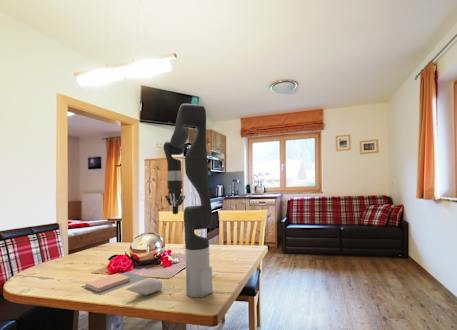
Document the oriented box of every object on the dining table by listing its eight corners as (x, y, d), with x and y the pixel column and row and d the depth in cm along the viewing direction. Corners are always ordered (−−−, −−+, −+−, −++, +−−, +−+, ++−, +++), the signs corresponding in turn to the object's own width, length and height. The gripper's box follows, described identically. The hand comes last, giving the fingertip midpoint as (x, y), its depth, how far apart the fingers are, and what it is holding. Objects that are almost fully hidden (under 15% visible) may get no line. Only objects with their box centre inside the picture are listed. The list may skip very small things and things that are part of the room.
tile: (129, 277, 116) (98, 288, 105) (130, 281, 116) (98, 292, 105) (117, 273, 122) (85, 283, 111) (117, 277, 122) (85, 287, 111)
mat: (148, 278, 120) (148, 277, 120) (99, 296, 102) (99, 295, 102) (127, 272, 129) (127, 271, 129) (80, 287, 112) (80, 286, 112)
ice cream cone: (122, 301, 97) (159, 295, 107) (129, 293, 94) (166, 288, 104) (120, 285, 100) (156, 281, 110) (127, 277, 98) (163, 273, 108)
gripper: (160, 180, 137) (161, 214, 136) (178, 179, 129) (178, 215, 128) (171, 180, 143) (172, 212, 142) (189, 179, 135) (190, 213, 134)
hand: (175, 214), depth 135 cm, fingers closed
